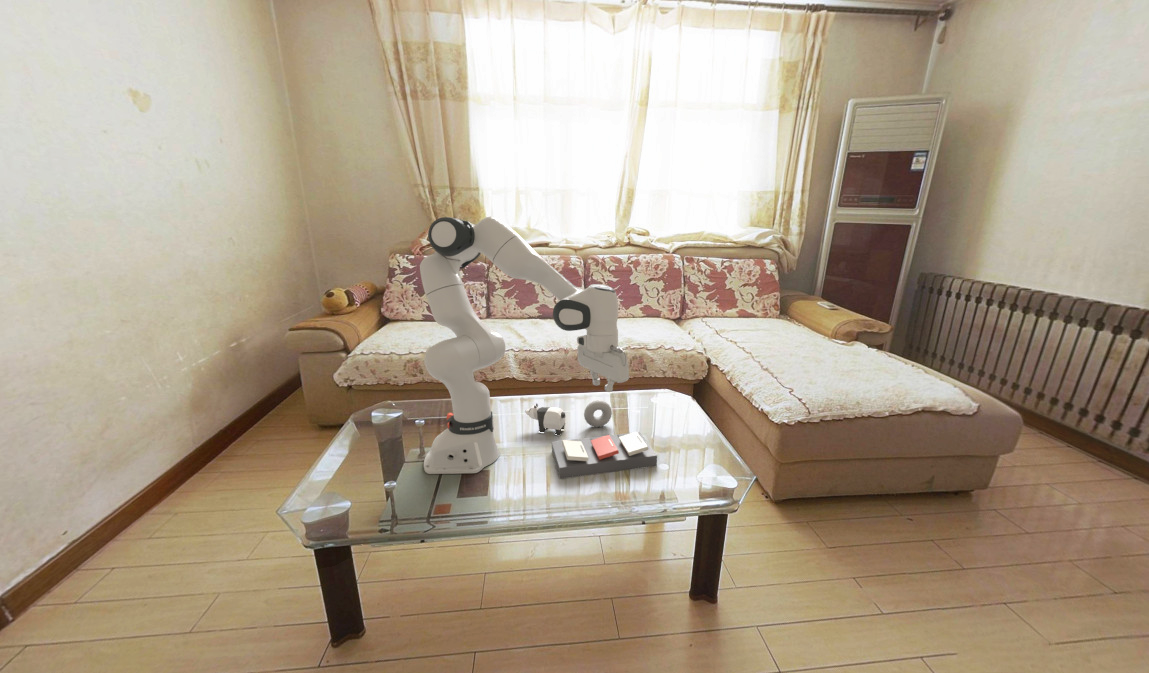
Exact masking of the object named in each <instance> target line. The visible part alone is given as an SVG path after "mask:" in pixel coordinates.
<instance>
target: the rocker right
mask: <svg viewBox="0 0 1149 673" xmlns="http://www.w3.org/2000/svg"><path fill="white" fill-rule="evenodd" d="M638 432H639V431H634V432H629V433H630V434H627V435H624V436H620V437H619V440H620V442H621V444H622V445H623V447H624V448H625V450H626V452H627V453H628V455H629V456H631V455H634V454H637V453H640V452H643V451H646V450H648V446H647V445H646V443H645V442H644V441H643V439H642V438H641V436H640V435H639V434H638Z"/></svg>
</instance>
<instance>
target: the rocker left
mask: <svg viewBox="0 0 1149 673" xmlns="http://www.w3.org/2000/svg"><path fill="white" fill-rule="evenodd" d="M570 440H571V439H562V440H561V441H562V446H563V449H564V451H565V454H566V457H567V460H577V461H588V458H589V457H588V455H587V453H586V451H585V448H584V446H583V444H582V442H581V441H570Z"/></svg>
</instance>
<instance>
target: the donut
mask: <svg viewBox="0 0 1149 673" xmlns="http://www.w3.org/2000/svg"><path fill="white" fill-rule="evenodd" d="M596 411H601V415H600V416H599V417H596V416H594V414H595V412H596ZM612 415H613V411H612V407H611V406H610V404H609V403H608V402H607V401H605V400H602V399H597V400H593V401H591V402H590V403H589V404H587V406H586V407H585V409H584V413H583V416H584V420H585V422H586V423H587V424H588V425H589V426H591V427H593V426H594V427H593V428H600V427H599V426H601V427H603V426H605V425H607V424H608V423H609V422H610V420H611V418H612Z"/></svg>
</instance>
